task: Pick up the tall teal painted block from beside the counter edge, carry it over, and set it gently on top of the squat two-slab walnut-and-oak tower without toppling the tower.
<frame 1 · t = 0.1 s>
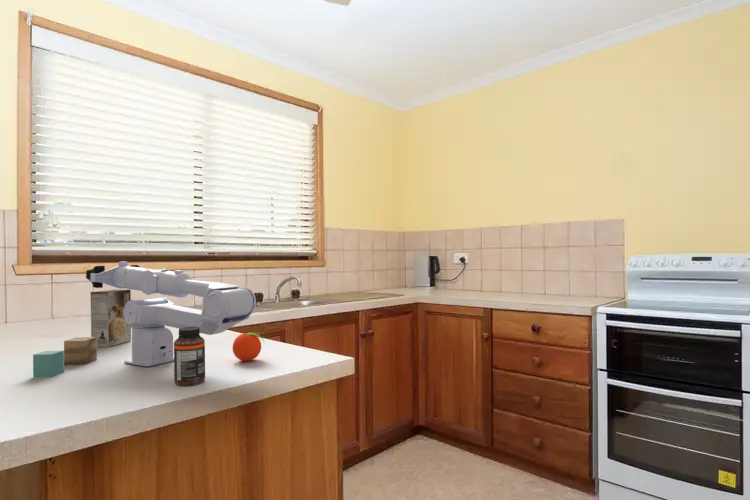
hand: (102, 273, 122), 22 cm above the counter, tool horizontal, fingers open, 7 cm apart
tower lower: (80, 363, 113), on the counter, touching tower upper
clementine: (249, 361, 113), on the counter
supplement bottle: (189, 383, 94), on the counter
tower upper: (80, 350, 113), point 3 cm above the counter, touching tower lower
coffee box: (111, 344, 137), on the counter
teal block: (48, 375, 101), on the counter
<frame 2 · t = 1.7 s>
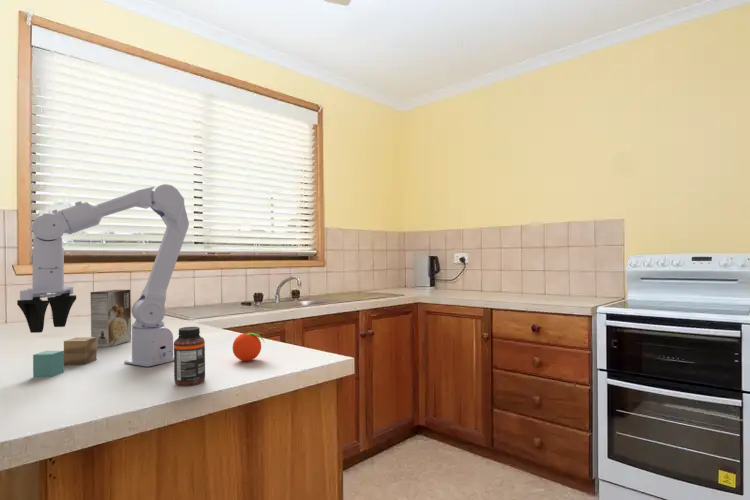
hand: (48, 329, 101), 10 cm above the counter, tool pointing down, fingers open, 7 cm apart
nothing on the counter moved.
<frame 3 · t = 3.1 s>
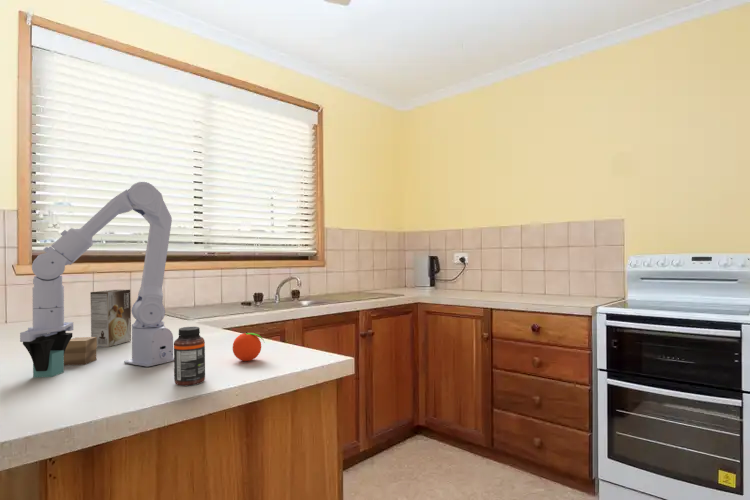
hand: (48, 368, 101), 1 cm above the counter, tool pointing down, fingers closed on teal block, 4 cm apart
tower lower: (80, 363, 113), on the counter
tower upper: (80, 351, 113), point 3 cm above the counter
teal block: (48, 374, 101), on the counter, touching gripper
everything else where it was.
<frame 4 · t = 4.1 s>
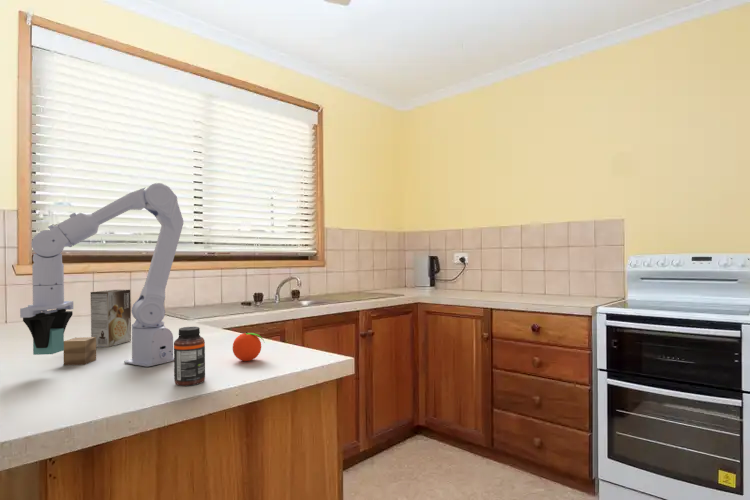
hand: (49, 345, 101), 6 cm above the counter, tool pointing down, fingers closed on teal block, 4 cm apart
tower lower: (80, 363, 113), on the counter, touching tower upper
tower upper: (80, 351, 113), point 3 cm above the counter, touching tower lower
teal block: (48, 352, 101), point 5 cm above the counter, touching gripper
everything else where it was.
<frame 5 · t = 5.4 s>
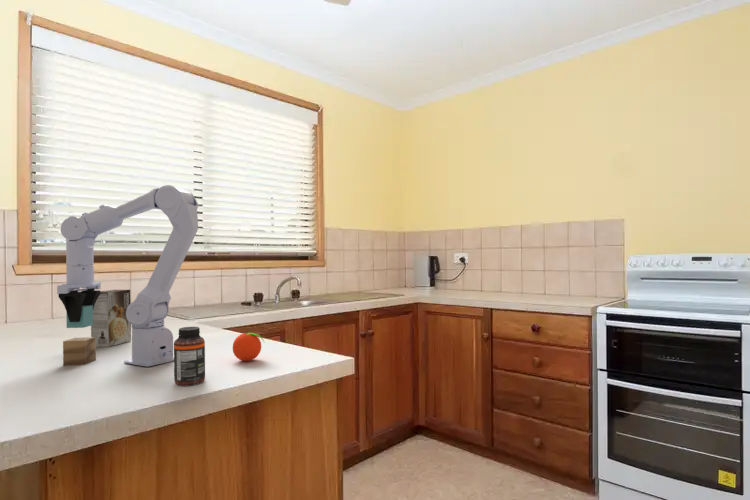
hand: (80, 320, 113), 10 cm above the counter, tool pointing down, fingers closed on teal block, 4 cm apart
teal block: (79, 326, 113), point 9 cm above the counter, touching gripper
everything else where it was.
when the fingers open (8 cm above the counter, at t = 6.2 s): teal block drops 1 cm, resting on tower upper.
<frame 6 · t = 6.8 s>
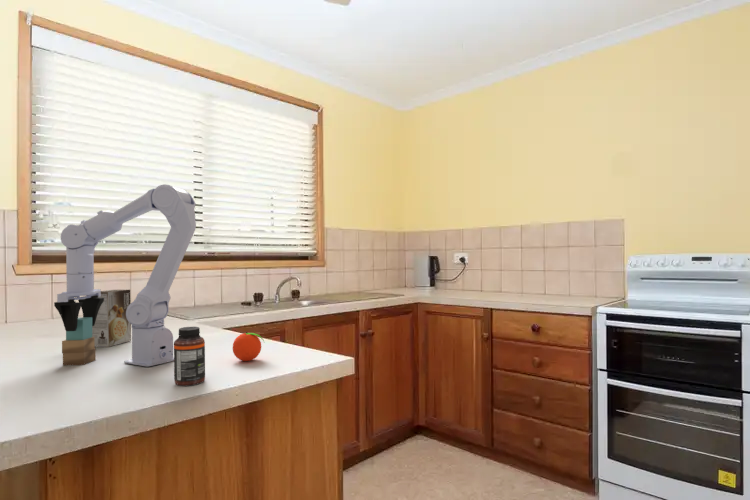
hand: (80, 328, 113), 8 cm above the counter, tool pointing down, fingers open, 7 cm apart
tower upper: (78, 350, 113), point 3 cm above the counter, touching teal block, tower lower
teal block: (79, 338, 113), point 6 cm above the counter, touching tower upper
everything else where it was.
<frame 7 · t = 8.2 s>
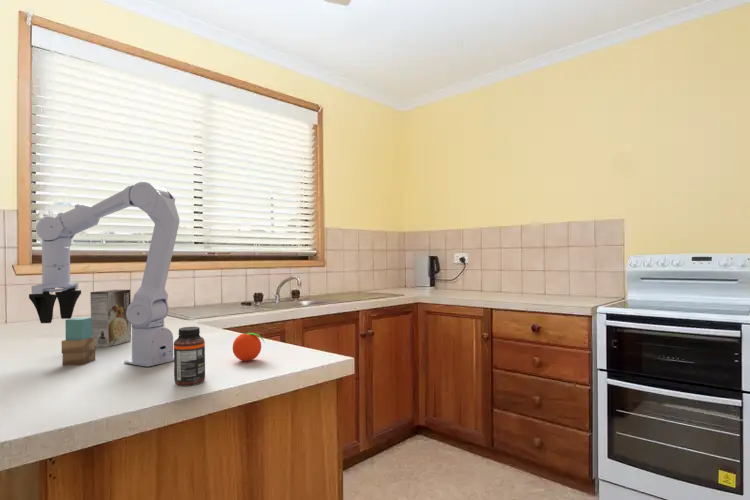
hand: (56, 320, 113), 10 cm above the counter, tool pointing down, fingers open, 7 cm apart
nothing on the counter moved.
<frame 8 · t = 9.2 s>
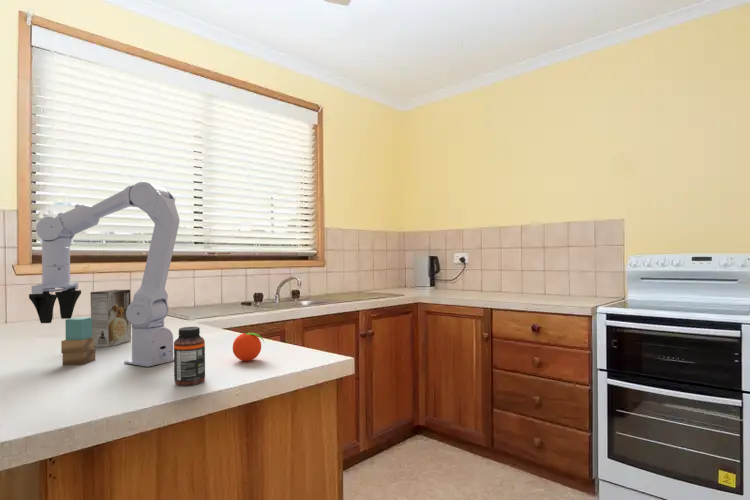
hand: (56, 320, 113), 10 cm above the counter, tool pointing down, fingers open, 7 cm apart
nothing on the counter moved.
at the end: teal block 0.2 cm off-centre on the tower lower, point 6.0 cm above the tower lower's base; tower upper 0.3 cm off-centre on the tower lower, point 3.0 cm above the tower lower's base; the gripper is holding nothing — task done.
